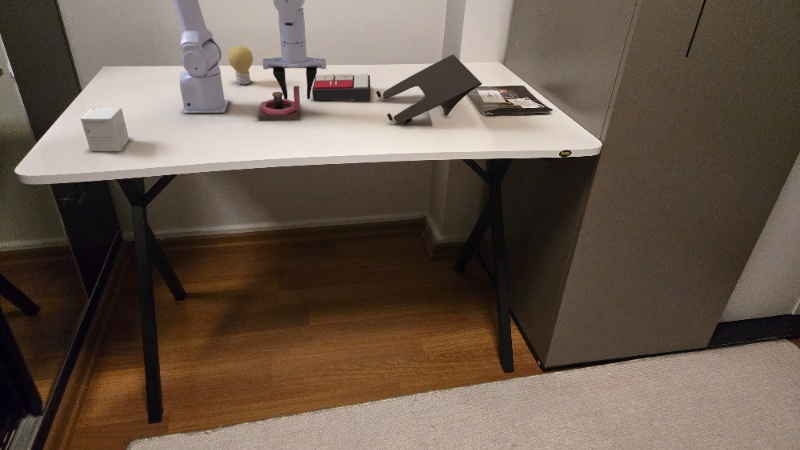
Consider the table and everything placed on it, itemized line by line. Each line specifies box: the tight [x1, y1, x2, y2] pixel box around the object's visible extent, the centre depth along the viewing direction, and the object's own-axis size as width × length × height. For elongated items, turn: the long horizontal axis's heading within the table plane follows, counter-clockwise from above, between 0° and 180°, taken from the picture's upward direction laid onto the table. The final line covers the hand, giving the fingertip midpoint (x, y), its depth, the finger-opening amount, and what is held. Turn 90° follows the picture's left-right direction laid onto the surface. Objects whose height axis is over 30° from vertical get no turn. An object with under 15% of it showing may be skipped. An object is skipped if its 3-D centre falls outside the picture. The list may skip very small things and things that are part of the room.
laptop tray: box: [375, 54, 483, 125], centre depth 133 cm, size 23×23×9 cm
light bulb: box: [227, 45, 254, 85], centre depth 143 cm, size 6×6×10 cm
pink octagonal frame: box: [260, 85, 301, 115], centre depth 127 cm, size 9×8×5 cm
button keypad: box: [311, 73, 371, 103], centre depth 141 cm, size 11×4×15 cm
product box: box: [80, 107, 130, 152], centre depth 109 cm, size 6×6×7 cm
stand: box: [258, 91, 299, 121], centre depth 128 cm, size 9×9×5 cm
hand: (297, 97), depth 128 cm, fingers open, 5 cm apart
